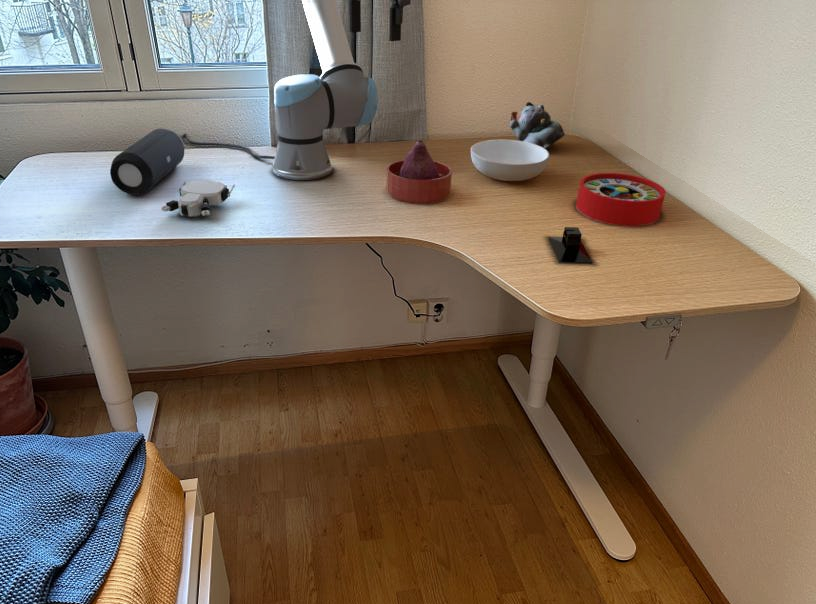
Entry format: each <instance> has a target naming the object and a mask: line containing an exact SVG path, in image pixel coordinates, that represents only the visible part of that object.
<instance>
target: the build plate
mask: <svg viewBox="0 0 816 604" xmlns="http://www.w3.org/2000/svg"><path fill="white" fill-rule="evenodd" d="M582 237H583V233H582V232H581V230H580V228H579V227H576V226H575V227H574V226H564V229H563V231H562V236H548V238H547V239H548V241H549V243H550V246H551V248H552V251H553V252H554V255H555V258H556V260H557V263H558V264H583V265H592V264H593V263H594V262H593V260H592V258H591V256H590V254H589V253H588V250H587V248H586V247H585V245H584V242H583V240H582Z"/></svg>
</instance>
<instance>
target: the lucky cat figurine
mask: <svg viewBox="0 0 816 604" xmlns="http://www.w3.org/2000/svg"><path fill="white" fill-rule="evenodd" d="M510 114H511V116H510V122H509V128H510V129H511V132H512V133H513V134H514V135H515V137H516V138H517V139H518V141H523V142H528V143H532V144H535V145H538V146H540V147H542V148H544V149H546V150H547V149H548V148H549V147H550V146H552V144H554V143H556V142H557V141H559V140H561V139H562V138H564V136H565V135H566V133H565V131H564V129H563V126H562V125H561V123H559V122H558V121H555V120H551V119H552V117H551V115H550V114H549V112H548V111H547V110H546V109H545V106H544V104H541V103H539V105H537V106H536V105H534V104H533V103H532V102H530V101H528V102H526V104H525V106H523V107H522V108H521V109H520V110H519V111H511V112H510Z"/></svg>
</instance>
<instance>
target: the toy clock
mask: <svg viewBox="0 0 816 604" xmlns="http://www.w3.org/2000/svg"><path fill="white" fill-rule="evenodd" d="M665 197H666V189H665V188H664V187H663V186H662V185H660V184H659V183H657V182H656V181H654V180H651V179H647V178H645V177H641V176H637V175H633V174H627V173H619V172H598V173H592V174H588V175H585V176H583V177H582V178H581V179H580V180H579V186H578V192H577V197H576V202H575V208H576V210H577V211H578V212H579V213H580V214H582V215H583V216H584V217H587V218H588V219H591V220H594V221H596V222H599V223H603V224H609V225H613V226H621V227H641V226H647V225H651V224H654V223H656V222H657V221H659V219H660V216H661V212H662V209H663V205H664V202H665Z"/></svg>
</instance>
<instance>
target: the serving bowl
mask: <svg viewBox="0 0 816 604" xmlns="http://www.w3.org/2000/svg"><path fill="white" fill-rule="evenodd" d="M470 156H471V162H472V164H473V165H474V167H475V169H476V170H477V171H478V172H480V173H481V174H482V175H484V176H486V177H489V178H491V179H493V180H494V179H495V180H498V181H503V182H519V181H520V182H523V181H526V180H531V179H534V178H535V177H537V176H539V175H540V174H541V173H542V172H543V171H544V170H545V168H546V167H547V164H548V161H549V159H550V152H549V151H548V150H547V148H546V149H544V148H542V147H540V146H538V145H535V144H532V143H528V142H523V141H520V140H516V139H503V138H501V139H500V138H499V139H487V140H481V141H478V142H476V143H474V144H473V145H472V146H471V147H470Z"/></svg>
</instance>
